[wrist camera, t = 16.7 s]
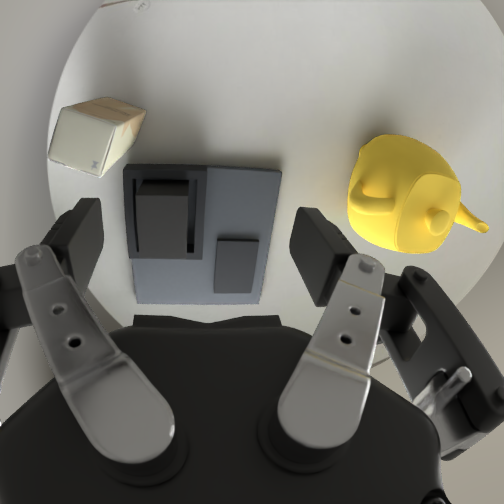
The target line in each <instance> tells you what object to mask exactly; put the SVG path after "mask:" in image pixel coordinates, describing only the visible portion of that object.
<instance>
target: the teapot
mask: <svg viewBox="0 0 504 504" xmlns="http://www.w3.org/2000/svg"><path fill="white" fill-rule="evenodd" d="M460 198H461V186H460V183H459V181H458V179H457V177H456V175H455V173H454V172H453V170H452V168H451V167H450V166H449V164H448V163H447V162H446V160H445V159H444V158H443V157H442V156H441V155H440V154H439V153H437V152H436V151H435V150H433V149H432V148H430V147H429V146H427V145H426V144H424V143H422V142H420V141H418V140H415V139H413V138H410V137H406V136H401V135H392V134H385V135H380V136H378V137H375V138H374V139H372V140H371V141H370V142H369V143H368V144H365V145H363V146H362V147H361V148H360V151H359V158H358V160H357V162H356V164H355V166H354V169H353V172H352V175H351V178H350V183H349V189H348V201H347V209H348V218H349V221H350V224H351V226H352V227H353V229H354V230H355V231H356V232H357V233H358V234H359V235H360V236H362V237H363V238H364V239H366V240H367V241H369V242H371V243H373V244H375V245H377V246H380V247H383V248H387V249H390V250H394V251H399V252H404V253H429V252H432V251H434V250H436V249H437V248H438V247H439V246H440V245H441V244H442V243H443V241H444V240H445V238H446V237H447V235H448V233H449V231H450V229H451V227H452V225H453V223H454V222H457V223H459V224H462V225H465V226H467V227H469V228H471V229H473V230H475V231H477V232H480V233H486V232H487V231H488V230H489V227H488V225H487V224H486V223H485V222H483V221H481V220H480V219H478V218H477V217H475V216H474V215H473V214H472V213H471V212H470V211H469V210H468V209H467V208H466V207H465V206H464V205H463V204H462V203H461V202H460Z"/></svg>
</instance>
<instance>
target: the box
mask: <svg viewBox="0 0 504 504" xmlns="http://www.w3.org/2000/svg"><path fill="white" fill-rule="evenodd" d="M145 114H146V110H143V109H141V108H138V107H135V106H133V105H130V104H127V103H124V102H121V101H118V100H115V99H112V98H109V97H104V98H100V99H95V100H91V101H86V102H82V103H78V104H75V105H71V106H67V107H63V108H62V109H61V111H60V114H59V117H58V120H57V123H56V126H55V129H54V132H53V136H52V139H51V143H50V147H49V151H48V155H47V158H48V160H50V161H53V162H55V163H58V164H60V165H63V166H66V167H69V168H72V169H74V170H77V171H80V172H83V173H86V174H89V175H92V176H95V177H98V178H101V177H102V176H103V175H104V174H105V173H106V171H107V170H108V169H109V168H110V167H111V166H112V165H113V164H114V163H115V162H116V161H117V160H118V159H119V158H120V157H121V156H122V155H124V154H125V153H126V152H127V151H128V150H129V149H130V148H131V147H132V146H133V144H134V142H135V139H136V137H137V134H138V132H139V130H140V127H141V125H142V122H143V119H144V117H145Z"/></svg>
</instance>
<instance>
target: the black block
mask: <svg viewBox="0 0 504 504" xmlns="http://www.w3.org/2000/svg"><path fill="white" fill-rule="evenodd" d="M188 194H189V180H143V181H142V183H141V185H140V187H139V189H138V191H137V193H136V216H137V232H138V245H139V256H140V258H180V259H186V258H187V225H188Z"/></svg>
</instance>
